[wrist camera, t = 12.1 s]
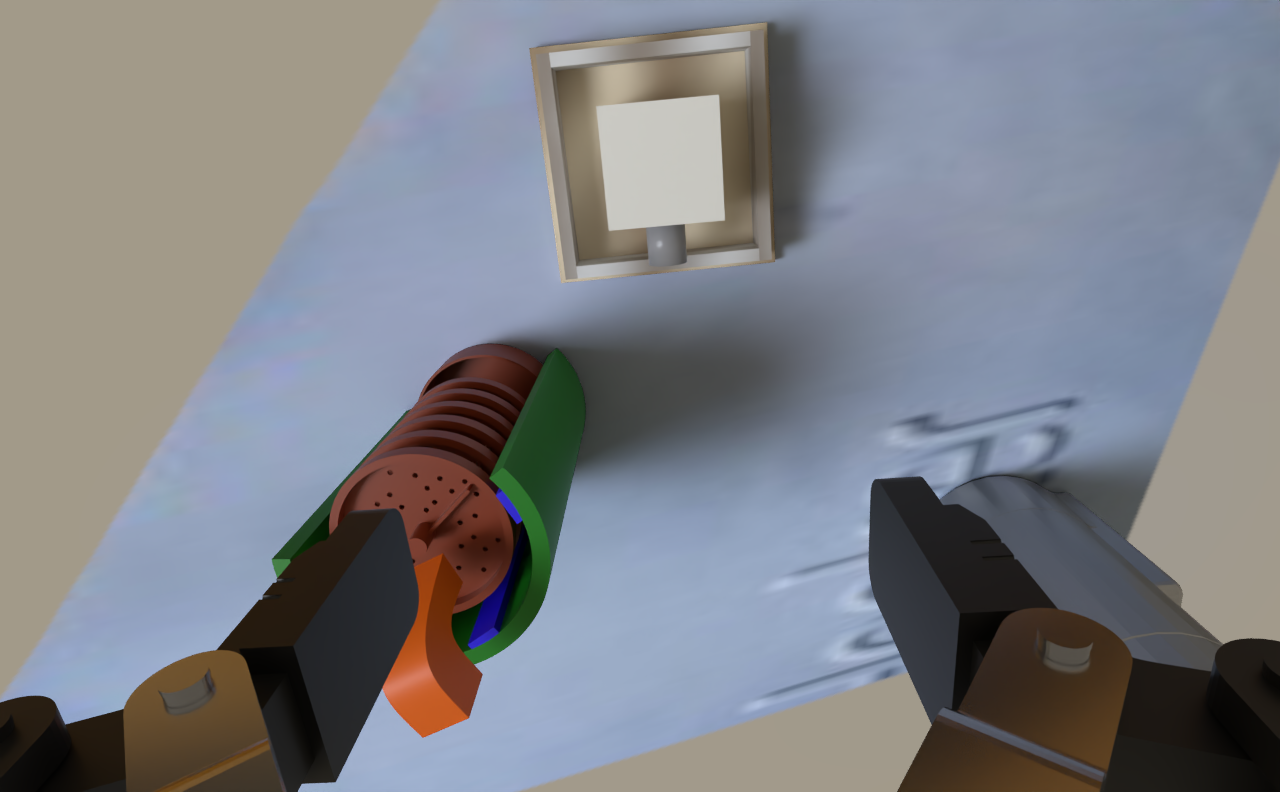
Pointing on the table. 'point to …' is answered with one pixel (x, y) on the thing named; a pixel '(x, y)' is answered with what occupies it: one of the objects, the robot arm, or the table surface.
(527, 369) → the green cutaway cylinder
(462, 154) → the table surface
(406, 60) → the table surface
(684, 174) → the cream cube on peg
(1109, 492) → the table surface
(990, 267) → the table surface
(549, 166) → the mount pocket
